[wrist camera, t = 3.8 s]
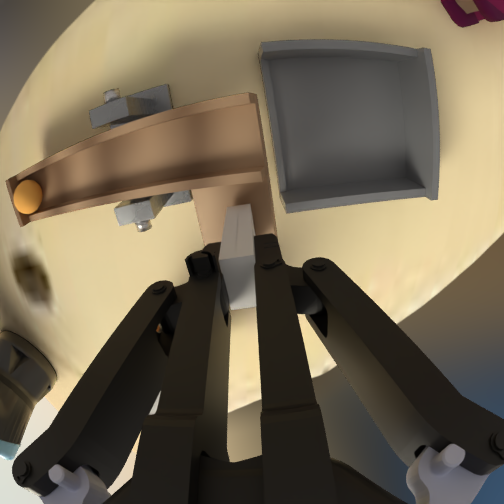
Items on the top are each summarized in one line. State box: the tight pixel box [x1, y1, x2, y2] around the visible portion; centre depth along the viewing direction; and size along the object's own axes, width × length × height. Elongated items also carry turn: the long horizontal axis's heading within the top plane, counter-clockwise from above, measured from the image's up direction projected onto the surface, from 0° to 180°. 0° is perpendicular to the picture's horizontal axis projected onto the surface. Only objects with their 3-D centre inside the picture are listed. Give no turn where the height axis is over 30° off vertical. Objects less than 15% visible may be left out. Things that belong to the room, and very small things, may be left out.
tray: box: [258, 40, 440, 213], centre depth 20 cm, size 14×14×5 cm
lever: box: [6, 93, 278, 246], centre depth 19 cm, size 24×11×3 cm, turn 99°
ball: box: [13, 180, 42, 214], centre depth 19 cm, size 3×3×3 cm
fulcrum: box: [89, 84, 192, 232], centre depth 20 cm, size 6×11×7 cm, turn 9°
